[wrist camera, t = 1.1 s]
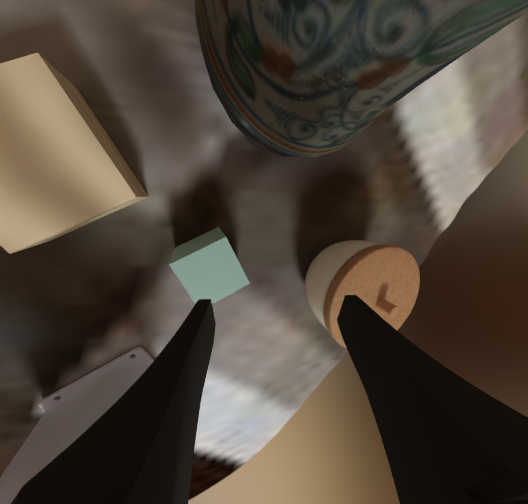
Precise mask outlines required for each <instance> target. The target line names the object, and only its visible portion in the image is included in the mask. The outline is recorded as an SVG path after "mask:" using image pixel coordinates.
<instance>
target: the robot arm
mask: <svg viewBox="0 0 528 504" xmlns="http://www.w3.org/2000/svg"><path fill="white" fill-rule="evenodd" d="M337 322H338V326H339V329H340V332H341V335H342V338H343V341H344V343H345V345H346V347H347V350H348V352H349V354H350V356H351V359H352V361H353V363H354V365H355V368H356V370H357V372H358V374H359V376H360V379H361V381H362V383H363V386H364V388H365V391H366V393H367V396H368V399H369V402H370V405H371V408H372V410H373V413H374V416H375V419H376V423H377V425H378V429H379V432H380V435H381V438H382V441H383V445H384V448H385V451H386V455H387V458H388V461H389V465H390V468H391V472H392V476H393V479H394V483H395V486H396V490H397V494H398V498H399V502H400V504H528V417H526V416H524V415H522V414H521V413H519V412H517V411H515V410H514V409H512V408H510V407H508V406H507V405H505V404H503V403H502V402H500V401H498V400H496V399H495V398H493V397H491V396H490V395H488V394H486V393H485V392H483V391H482V390H480V389H478V388H477V387H475V386H473V385H472V384H470V383H469V382H467V381H466V380H464V379H463V378H461V377H459V376H458V375H456V374H455V373H453V372H452V371H450V370H449V369H447V368H446V367H444V366H443V365H442V364H440V363H439V362H437V361H436V360H435V359H433V358H432V357H430V356H429V355H428V354H426V353H425V352H424V351H422V350H421V349H419V348H418V347H417V346H416V345H414V344H413V343H412V342H411V341H409V340H408V339H407V338H405V337H404V336H403V335H402V334H401V333H399V332H398V331H397V330H396V329H395V328H393V327H392V326H391V325H390V324H389V323H388V322H386V321H385V320H384V319H383V318H382V317H381V316H379V315H378V314H377V313H376V312H375V311H374V310H373V309H372V308H371V307H369V306H368V305H367V304H366V303H365V302H364V301H363V300H362V299H360V298H359V297H358V296H357V295H345V297H344V300H343V303H342V306H341V309H340V312H339V315H338V318H337ZM214 333H215V319H214V313H213V307H212V302H211V299H199V300H198V301H197V302H196V304H195V306H194V307H193V309H192V310H191V312H190V313H189V315H188V316H187V318H186V319H185V321H184V322H183V324H182V325H181V327H180V328H179V329H178V331H177V332H176V334H175V335H174V336H173V338H172V339H171V340H170V342H169V343H168V344H167V345H166V347H165V348H164V349H163V350H162V352H161V353H160V354H159V355H158V357H157V358H156V359H155V360H153V359H152V358H151V356H150V355H149V354H148V353H147V352H146V351H145V350H144V349H143V348H142V347H137V348H135V349H133V350H131V351H129V352H127V353H125V354H124V355H122V356H120V357H118V358H116V359H115V360H113V361H111V362H109V363H107V364H105V365H104V366H102V367H100V368H98V369H96V370H95V371H93V372H91V373H89V374H87V375H85V376H84V377H82V378H80V379H78V380H76V381H75V382H73V383H71V384H69V385H67V386H65V387H64V388H62V389H60V390H58V391H56V392H54V393H53V394H51V395H49V396H47V397H45V398H44V399H42V401H41V402H40V404H39V407H40V408H42V409H43V410H45V411H46V412H45V413H44V414H43V416H42V417H41V419H40V420H39V422H38V423H37V425H36V426H35V428H34V429H33V430H32V432H31V433H30V435H29V436H28V438H27V439H26V441H25V442H24V444H23V445H22V446H21V448H20V449H19V451H18V452H17V454H16V455H15V457H14V458H13V460H12V461H11V463H10V464H9V465H8V467H7V468H6V470H5V471H4V473H3V474H2V476H1V477H0V504H188V497H189V488H190V479H191V471H192V462H193V454H194V446H195V439H196V431H197V423H198V416H199V409H200V402H201V397H202V392H203V387H204V383H205V378H206V374H207V369H208V365H209V361H210V356H211V352H212V347H213V342H214ZM132 354H134V355H135V356H132ZM58 396H60V397H58Z"/></svg>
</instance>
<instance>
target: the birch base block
mask: <svg viewBox="0 0 528 504" xmlns="http://www.w3.org/2000/svg"><path fill="white" fill-rule="evenodd" d="M146 197H148V195H147V194H146V192H145V191H144V189H143V188H142V186H141V185H140V183H139V182H138V180H137V179H136V177H135V176H134V174H133V173H132V171H131V170H130V168H129V167H128V165H127V164H126V162H125V160H124V159H123V157H122V156H121V154H120V153H119V151H118V150H117V148H116V147H115V145H114V144H113V142H112V141H111V139H110V138H109V136H108V135H107V133H106V132H105V130H104V128H103V127H102V125H101V124H100V122H99V121H98V119H97V118H96V116H95V115H94V113H93V112H92V110H91V109H90V107H89V106H88V104H87V103H86V101H85V100H84V98H83V96H82V95H81V93H80V92H79V90H78V89H77V88H76V87H75V86H74V85H73V84H72V83H71V82H70V81H69V80H68V79H67V78H65V77H64V76H63V75H62V74H61V73H60V72H59V71H58V70H57V69H56V68H54V67H53V66H52V65H51V64H50V63H49V62H48V61H47V60H46V59H45V58H43V57H42V56H41V55H40V54H39V53H34V54H31V55H28V56H24V57H21V58H17V59H14V60H11V61H7V62H4V63H0V245H1V246H2V247H3V248H4V249H5V250H6V251H7V252H8V253H9V254H11V253H14V252H17V251H20V250H24V249H27V248H30V247H33V246H36V245H39V244H42V243H45V242H49V241H51V240H54V239H56V238H58V237H60V236H62V235H65V234H67V233H69V232H71V231H73V230H76V229H78V228H80V227H82V226H85V225H87V224H89V223H91V222H93V221H96V220H98V219H100V218H102V217H104V216H107V215H109V214H111V213H113V212H116V211H118V210H120V209H122V208H124V207H127V206H129V205H131V204H133V203H135V202H138V201H140V200H142V199H144V198H146Z"/></svg>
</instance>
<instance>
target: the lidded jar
mask: <svg viewBox="0 0 528 504" xmlns="http://www.w3.org/2000/svg"><path fill="white" fill-rule="evenodd" d="M419 280H420V275H419V269H418V265H417V263H416V261H415V259H414V258H413V256H412V255H411V254H410V253H409V252H408V251H406V250H405V249H403V248H400V247H397V246H393V245H386V244H380V243H376V242H370V241H362V240H348V241H342V242H338V243H335V244H333V245H330V246H328V247H327V248H325V249H324V250H322V251H321V252H320V253H319V254H318V255H317V256H316V257H315V258H314V259H313V260H312V262H311V264H310V265H309V268H308V271H307V273H306V278H305V293H306V298H307V301H308V304H309V306H310V308H311V310H312V312H313V313H314V314H315V316H316V317H317V319H318V320H319V321H320V323H321V324H322V325H323V326H324V327H325V328H326V329H327V330H328V332H329V333H330V335H331V336H332V337H333V338H334V339H335V340H336V341H337V342H338V343H339V344H340V345H341V346H343V347H345V348H347V347H346V345H345V343H344V341H343V338H342V335H341V332H340V329H339V326H338V322H337V318H338V315H339V312H340V309H341V306H342V303H343V300H344V297H345V295H357V296H358V297H359V298H360V299H362V300H363V301H364V302H365V303H366V304H367V305H368V306H369V307H371V308H372V309H373V310H374V311H375V312H376V313H377V314H378V315H379V316H381V317H382V318H383V319H384V320H385V321H386V322H388V323H389V324H390V325H391V326H392V327H393V328H395V329H396V330H398V329H399V328H400V326H401V325H402V324H403V323H404V321H405V320H406V318H407V317H408V315H409V314H410V312H411V310H412V308H413V306H414V304H415V300H416V298H417V294H418V291H419V282H420V281H419Z"/></svg>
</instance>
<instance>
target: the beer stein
mask: <svg viewBox="0 0 528 504" xmlns="http://www.w3.org/2000/svg"><path fill="white" fill-rule="evenodd" d="M195 9H196V21H197V27H198V32H199V37H200V43H201V47H202V51H203V56H204V60H205V64H206V67H207V70H208V73H209V77H210V80H211V83H212V86H213V89H214V91H215V92H216V94H217V96H218V98H219V100H220V101H221V103H222V105H223V107H224V109H225V110H226V112H227V114H228V116H229V118H230V119H231V121H232V123H233V124H234V125H235V126H236V127H237V128H238V129H239V130H240V131H241V132H242V133H243V134H244V135H245V136H246V137H247V138H248V139H249V140H250V141H251V142H252V143H253V144H255V145H257V146H260V147H262V148H264V149H267V150H269V151H272V152H274V153H277V154H279V155H281V156H299V157H317V156H322V155H327V154H330V153H333V152H335V151H337V150H339V149H341V148H343V147H345V146H347V145H348V144H350V143H352V142H353V141H354V140H356V139H357V138H358V137H359V136H360V135H362V134H363V133H364V132H365V131H366V130H367V128H368V127H369V126H370V125H371V124H372V123H373V122H374V120H375V119H376V118H377V117H378V116H379V115H380V114H382V113H383V112H384V111H385V110H387V109H388V108H389V107H390V106H392V105H393V104H394V103H395V102H397V101H398V100H400V99H401V98H403V97H404V96H405V95H406V94H408V93H409V92H410V91H412V90H413V89H414V88H416V87H417V86H419V85H420V84H421V83H423V82H424V81H426V80H427V79H429V78H430V77H432V76H433V75H435V74H436V73H437V72H439V71H440V70H442V69H443V68H445V67H446V66H448V65H449V64H450V63H452V62H453V61H455V60H456V59H458V58H459V57H460V56H462V55H463V54H465V53H466V52H468V51H469V50H471V49H472V48H474V47H475V46H477V45H478V44H480V43H481V42H483V41H484V40H486V39H487V38H489V37H490V36H492V35H493V34H495V33H496V32H498V31H499V30H501V29H502V28H504V27H505V26H507V25H508V24H510V23H511V22H513V21H514V20H516V19H518V18H519V17H521V16H522V15H524V14H526V13H527V12H528V0H195Z"/></svg>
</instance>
